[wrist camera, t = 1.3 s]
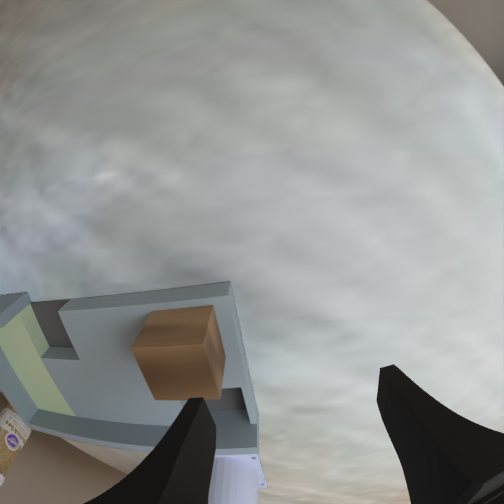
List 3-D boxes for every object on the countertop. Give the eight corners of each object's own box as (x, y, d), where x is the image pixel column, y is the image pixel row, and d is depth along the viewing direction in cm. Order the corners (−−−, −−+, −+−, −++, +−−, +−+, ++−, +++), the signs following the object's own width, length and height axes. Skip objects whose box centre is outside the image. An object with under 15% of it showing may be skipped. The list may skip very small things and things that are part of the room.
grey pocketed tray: (258, 413, 24) (258, 453, 19) (44, 402, 25) (28, 427, 21) (227, 267, 19) (220, 300, 15) (-12, 296, 21) (-39, 316, 16)
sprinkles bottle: (48, 413, 26) (3, 491, 13) (35, 418, 27) (-6, 488, 14) (22, 387, 25) (-31, 461, 12) (11, 394, 25) (-36, 461, 13)
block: (226, 356, 19) (220, 399, 15) (169, 360, 19) (154, 400, 15) (213, 304, 18) (203, 343, 14) (152, 310, 18) (130, 347, 14)
